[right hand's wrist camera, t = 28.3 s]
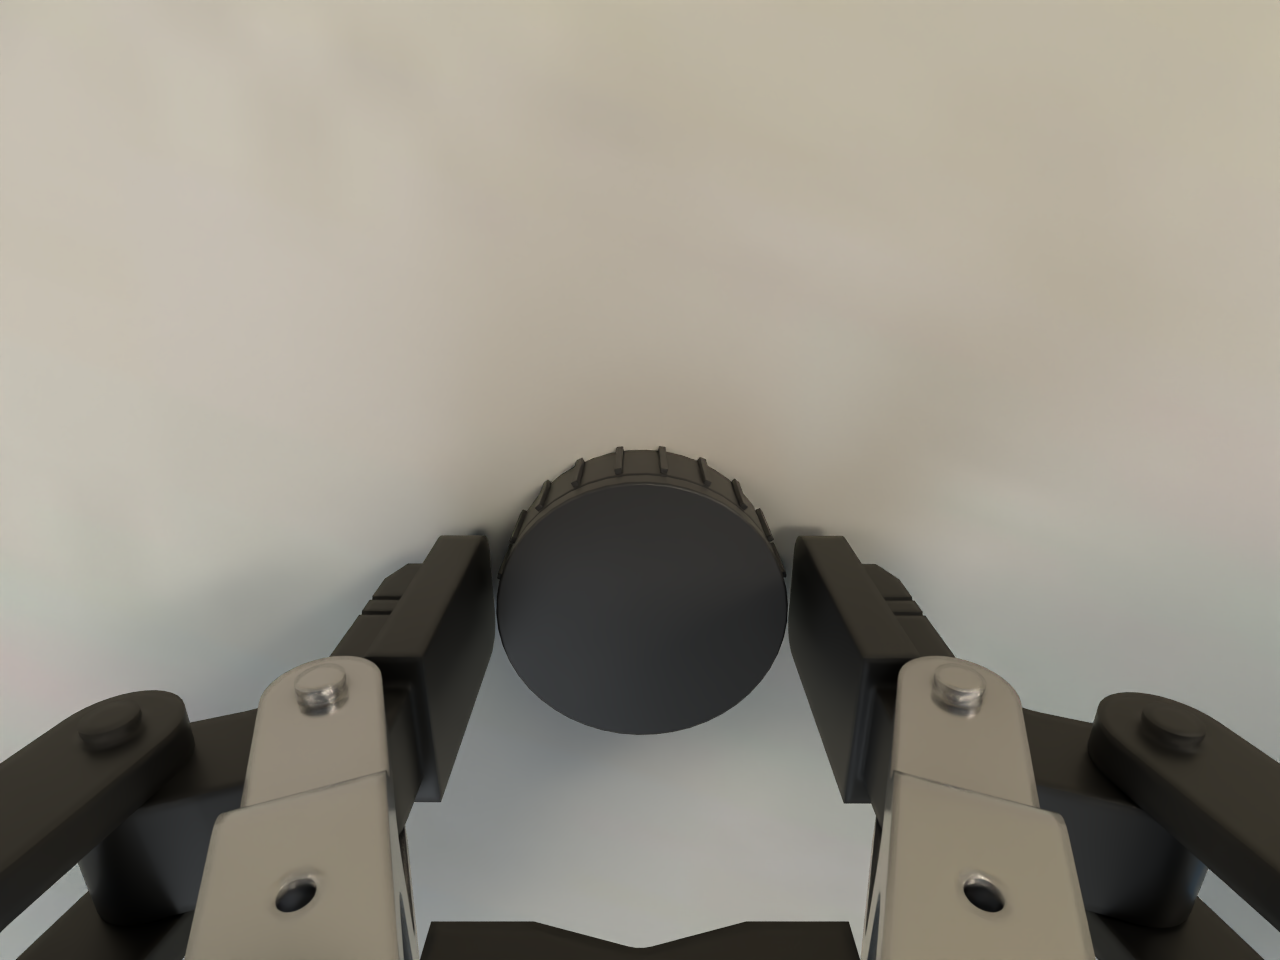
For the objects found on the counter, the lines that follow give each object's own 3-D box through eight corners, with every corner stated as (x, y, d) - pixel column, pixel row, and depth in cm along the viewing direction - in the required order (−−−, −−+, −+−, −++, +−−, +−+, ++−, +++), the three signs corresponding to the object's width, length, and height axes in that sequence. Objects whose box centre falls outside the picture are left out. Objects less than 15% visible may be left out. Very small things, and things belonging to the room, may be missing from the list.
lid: (722, 704, 13) (733, 766, 12) (484, 644, 13) (463, 701, 11) (814, 487, 12) (840, 527, 10) (545, 409, 11) (530, 439, 10)
